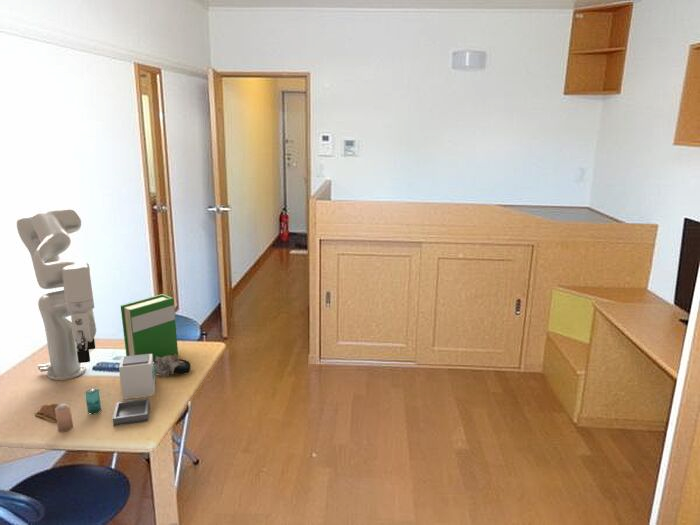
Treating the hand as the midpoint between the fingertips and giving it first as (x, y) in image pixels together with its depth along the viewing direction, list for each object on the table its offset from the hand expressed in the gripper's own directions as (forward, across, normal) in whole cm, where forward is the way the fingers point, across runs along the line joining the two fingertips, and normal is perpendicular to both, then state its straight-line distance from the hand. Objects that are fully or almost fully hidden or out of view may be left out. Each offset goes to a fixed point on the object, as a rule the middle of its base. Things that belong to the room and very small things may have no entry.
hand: (87, 355), depth 165 cm
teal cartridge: (+20, 0, 0) cm, 20 cm away
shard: (+20, +2, +12) cm, 24 cm away
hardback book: (+20, +35, -16) cm, 44 cm away
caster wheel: (+20, +21, -24) cm, 38 cm away
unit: (+20, +9, -13) cm, 25 cm away
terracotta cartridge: (+20, -8, +7) cm, 22 cm away
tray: (+20, -6, -12) cm, 24 cm away
